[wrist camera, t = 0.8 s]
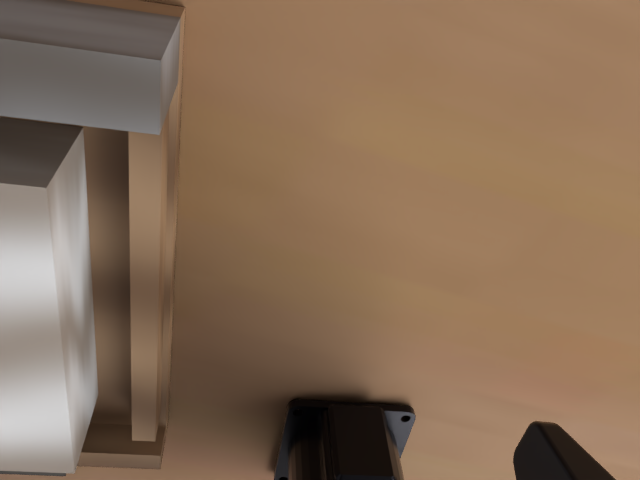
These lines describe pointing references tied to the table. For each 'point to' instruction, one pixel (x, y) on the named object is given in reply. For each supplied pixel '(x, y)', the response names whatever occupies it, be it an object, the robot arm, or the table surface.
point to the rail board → (134, 280)
